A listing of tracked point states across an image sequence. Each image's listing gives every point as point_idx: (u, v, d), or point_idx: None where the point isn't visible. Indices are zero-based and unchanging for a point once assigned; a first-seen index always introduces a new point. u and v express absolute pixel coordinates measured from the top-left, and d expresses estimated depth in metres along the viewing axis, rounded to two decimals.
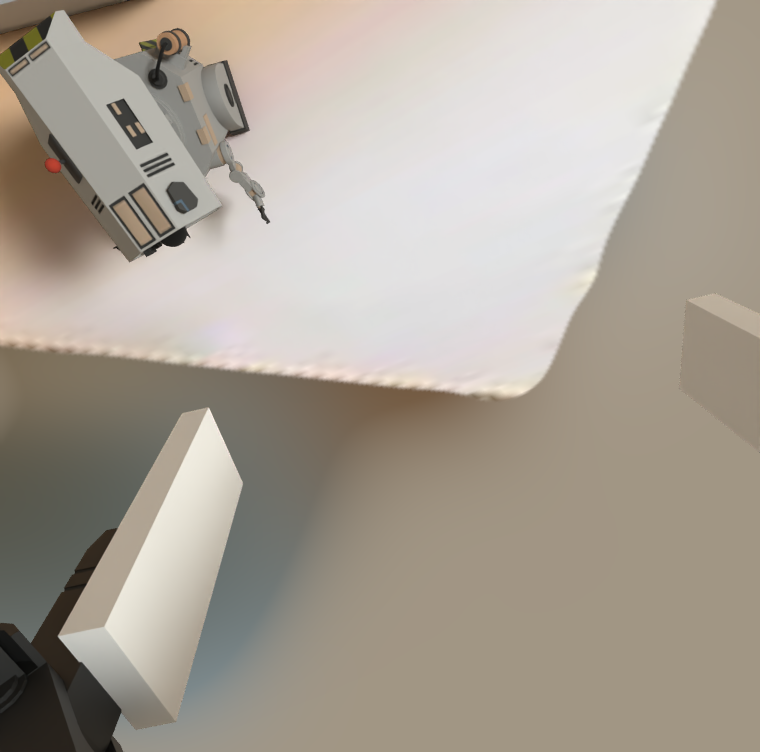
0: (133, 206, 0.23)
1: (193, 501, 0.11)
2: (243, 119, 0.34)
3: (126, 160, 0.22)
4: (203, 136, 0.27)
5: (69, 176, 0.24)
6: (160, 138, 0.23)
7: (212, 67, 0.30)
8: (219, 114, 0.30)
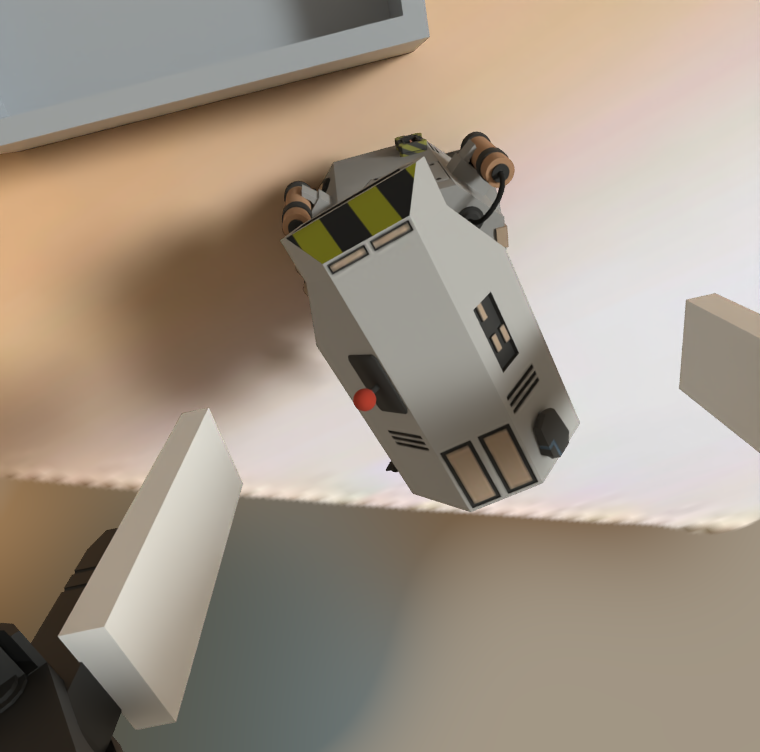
0: (480, 454, 0.14)
1: (193, 501, 0.11)
2: None
3: (490, 393, 0.13)
4: None
5: None
6: (525, 343, 0.14)
7: None
8: None
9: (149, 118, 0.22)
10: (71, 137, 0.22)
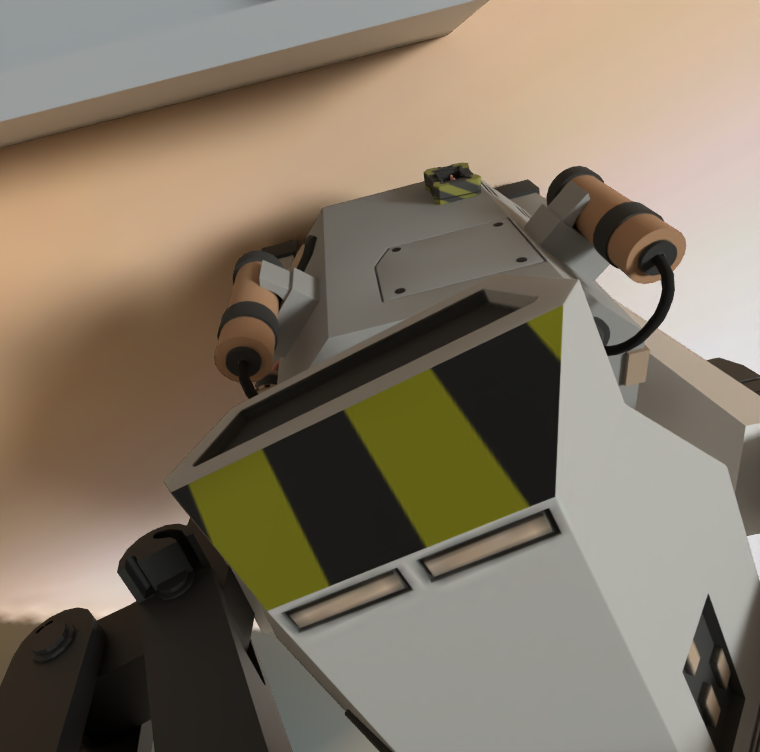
0: None
1: None
2: None
3: None
4: None
5: None
6: (752, 665, 0.06)
7: None
8: None
9: (43, 136, 0.15)
10: None
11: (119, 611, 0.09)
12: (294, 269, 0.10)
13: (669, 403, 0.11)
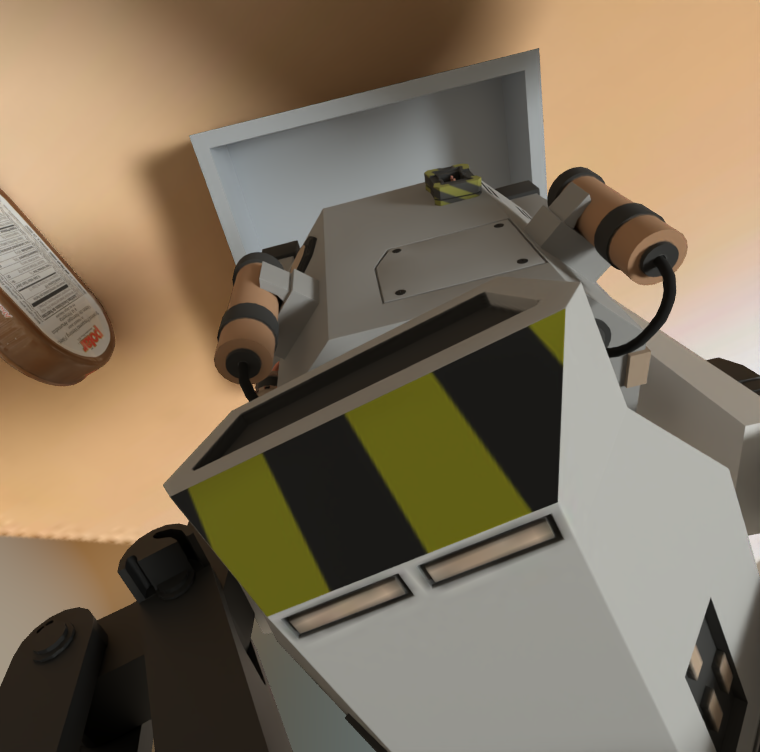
0: None
1: None
2: None
3: None
4: None
5: None
6: (754, 669, 0.06)
7: None
8: None
9: None
10: None
11: (119, 611, 0.09)
12: (294, 270, 0.10)
13: (669, 403, 0.11)
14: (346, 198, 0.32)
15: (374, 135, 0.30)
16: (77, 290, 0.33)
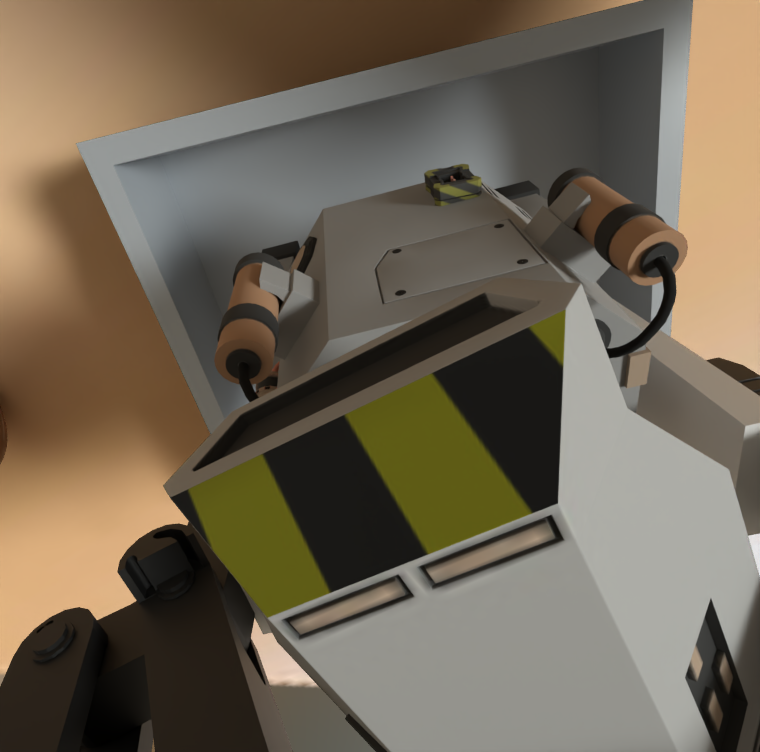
0: None
1: None
2: None
3: None
4: None
5: None
6: (755, 669, 0.06)
7: None
8: None
9: None
10: None
11: (119, 611, 0.09)
12: (294, 271, 0.10)
13: (669, 403, 0.11)
14: None
15: (393, 141, 0.19)
16: None
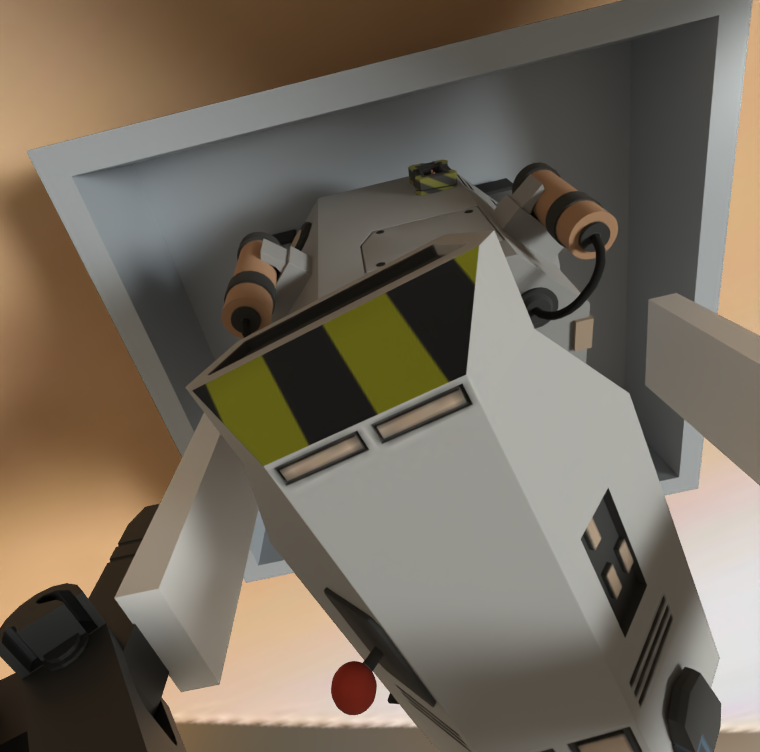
0: None
1: (227, 480, 0.12)
2: None
3: (601, 684, 0.07)
4: None
5: (348, 628, 0.08)
6: (655, 561, 0.08)
7: None
8: None
9: None
10: None
11: (11, 677, 0.08)
12: (291, 247, 0.11)
13: None
14: None
15: (397, 146, 0.17)
16: None
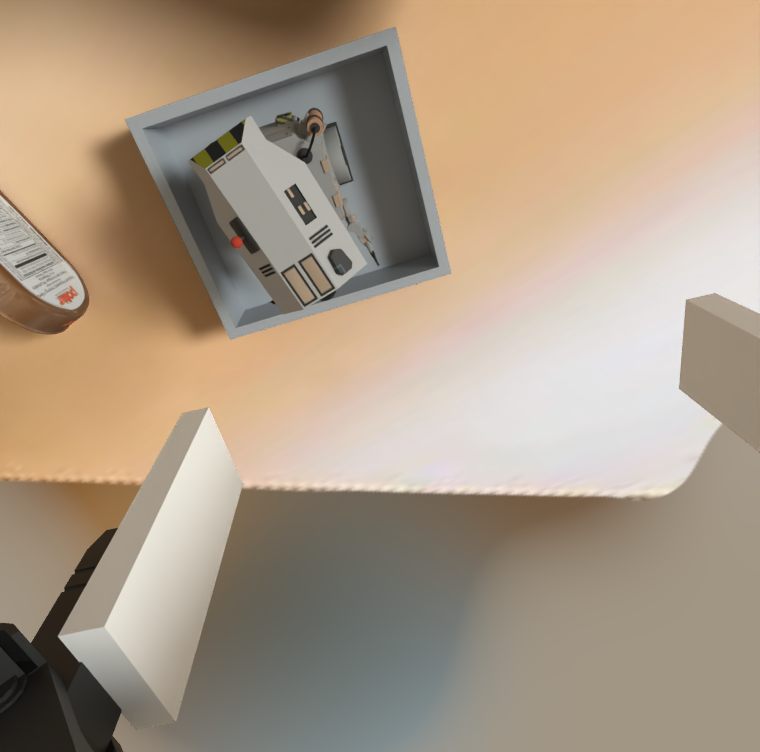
0: (301, 272, 0.27)
1: (193, 501, 0.11)
2: (350, 172, 0.38)
3: (298, 235, 0.26)
4: (338, 200, 0.31)
5: (241, 247, 0.28)
6: (321, 213, 0.27)
7: (333, 133, 0.34)
8: (339, 174, 0.34)
9: None
10: None
11: None
12: None
13: None
14: None
15: (283, 110, 0.36)
16: (54, 258, 0.40)
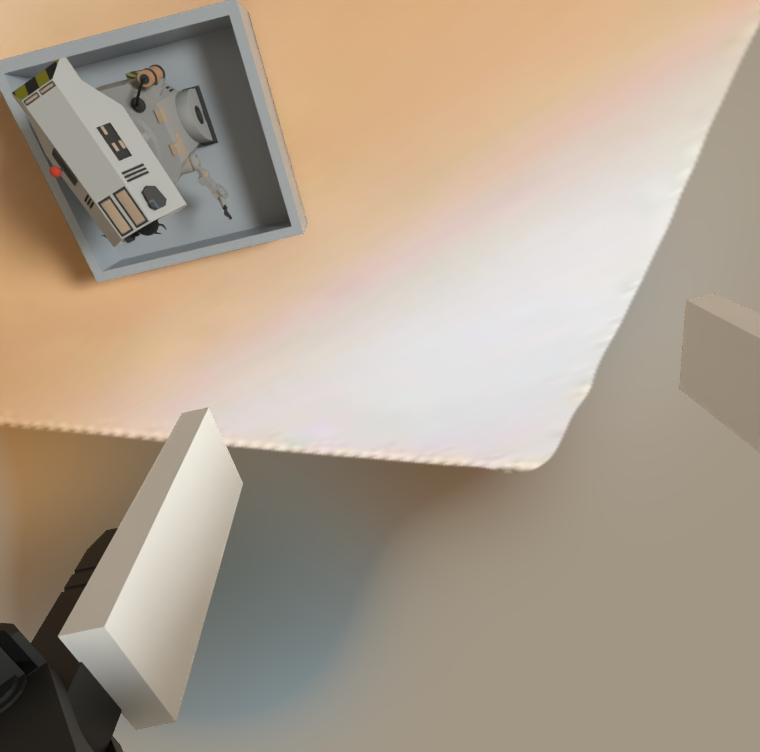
0: (116, 204, 0.30)
1: (193, 501, 0.11)
2: (212, 133, 0.41)
3: (111, 169, 0.29)
4: (174, 149, 0.34)
5: (67, 179, 0.31)
6: (138, 152, 0.30)
7: (184, 93, 0.37)
8: (190, 130, 0.38)
9: None
10: None
11: None
12: None
13: None
14: None
15: None
16: None
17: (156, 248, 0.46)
